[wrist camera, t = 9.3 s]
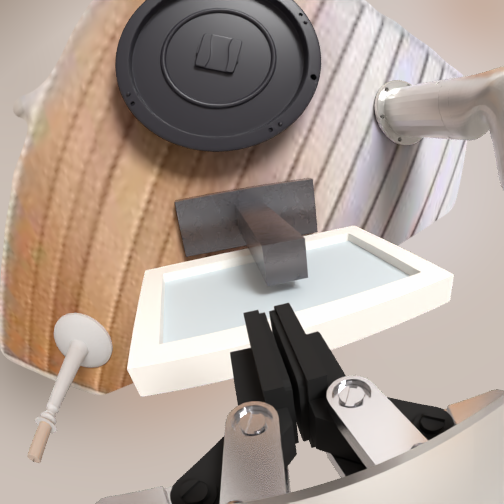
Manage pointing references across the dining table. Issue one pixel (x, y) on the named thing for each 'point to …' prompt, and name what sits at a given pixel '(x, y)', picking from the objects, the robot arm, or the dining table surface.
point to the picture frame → (273, 304)
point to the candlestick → (70, 368)
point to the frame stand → (254, 225)
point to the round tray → (218, 70)
